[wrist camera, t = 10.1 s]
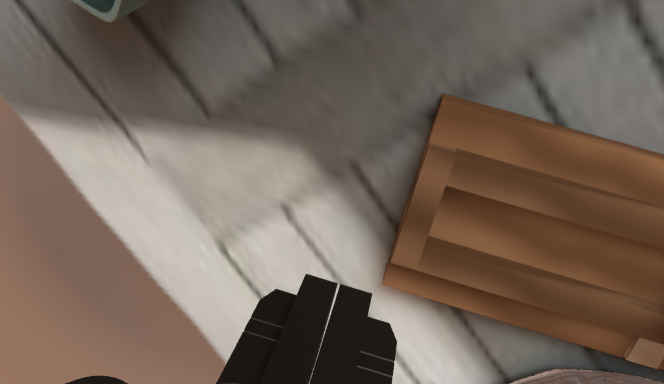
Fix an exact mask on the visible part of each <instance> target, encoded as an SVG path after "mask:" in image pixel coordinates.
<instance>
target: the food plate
mask: <svg viewBox="0 0 664 384" xmlns="http://www.w3.org/2000/svg"><path fill="white" fill-rule="evenodd" d="M611 372H612V371H611ZM510 384H664V383H661V382H660V381H655V380H650V379H649V378H648V379H647V378H644V377H642V376H637V375H628V374H620V373H616V372H612V373H610V372H605V371H603V372H602V371H599V370H596V371H593V370H590V371H589V370H584V369H581V370H578V371H577V370H575V369H573V370H572V369H571V370H570V369H554V370H549V371H547V372H546V371H545V372H541V373H538V374H535V376H528V377H527V378H526V379H525V378H522V380H517V381H515V382H513V383H510Z"/></svg>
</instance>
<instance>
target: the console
mask: <svg viewBox="0 0 664 384" xmlns="http://www.w3.org/2000/svg"><path fill="white" fill-rule="evenodd" d="M382 285H385V286H388V287H392V288H395V289H398V290H402V291H405V292H408V293H411V294H415V295H418V296H421V297H425V298H428V299H431V300H434V301H438V302H441V303H444V304H448V305H451V306H454V307H457V308H461V309H464V310H467V311H471V312H474V313H477V314H480V315H484V316H487V317H490V318H494V319H497V320H500V321H503V322H507V323H510V324H513V325H517V326H520V327H523V328H526V329H530V330H533V331H536V332H540V333H543V334H546V335H549V336H553V337H556V338H559V339H563V340H566V341H569V342H572V343H576V344H579V345H582V346H586V347H589V348H592V349H595V350H599V351H602V352H605V353H609V354H612V355H615V356H618V357H622V358H625V359H626V360H628V361H632V362H635V363H638V364H641V365H645V366H648V367H651V368H655V369H657V368H658V369H661V370H664V155H663V154H660V153H656V152H653V151H649V150H645V149H642V148H638V147H635V146H631V145H627V144H624V143H620V142H617V141H613V140H609V139H606V138H602V137H599V136H595V135H591V134H588V133H584V132H580V131H577V130H573V129H570V128H566V127H562V126H559V125H555V124H552V123H548V122H544V121H541V120H537V119H534V118H530V117H526V116H523V115H519V114H516V113H512V112H508V111H505V110H501V109H498V108H494V107H490V106H487V105H483V104H480V103H476V102H472V101H469V100H465V99H461V98H458V97H454V96H451V95H447V94H442V97H441V100H440V103H439V106H438V109H437V112H436V115H435V119H434V122H433V125H432V128H431V131H430V134H429V137H428V140H427V143H426V146H425V149H424V152H423V156H422V159H421V162H420V165H419V168H418V171H417V174H416V177H415V180H414V183H413V186H412V189H411V192H410V196H409V199H408V202H407V205H406V208H405V211H404V214H403V217H402V220H401V223H400V226H399V229H398V233H397V236H396V239H395V242H394V245H393V248H392V251H391V254H390V257H389V260H388V263H387V266H386V269H385V273H384V278H383V283H382Z"/></svg>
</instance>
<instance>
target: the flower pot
mask: <svg viewBox="0 0 664 384" xmlns="http://www.w3.org/2000/svg"><path fill="white" fill-rule="evenodd" d="M70 1H72V2H73V3H75V4H77V5H78V6H80V7H82V8H83V9H85V10H86V11H88V12H89V13H91V14H93V15H94V16H96V17H97V18H99V19H101V20H103V21H105V22H108V23H111V22H113V21H115V20H117V19H119V18H121V17H123V16H125V15H127V14H129V13H131V12H133V11H135V10H137V9H139V8H140V7H142V6H144V5H145V4H147V3H148V2H149V1H150V0H70Z"/></svg>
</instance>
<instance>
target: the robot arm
mask: <svg viewBox="0 0 664 384" xmlns="http://www.w3.org/2000/svg"><path fill="white" fill-rule="evenodd" d="M337 284H338V283H335V282H331V281H328V280H325V279H322V278H318V277H315V276H312V275H308V274H306V275H305V277H304V280H303V282H302V284H301V287H300V289H299V291H298V294H297V295H294V294H291V293H288V292H284V291H281V290H278V289H275V290H274V291H272V292H271V293H269V294H268V295H266V296H265V297H263V298H262V299H260V301H259V302H258V304H257V306H256V308H255V310H254V312H253V314H252V316H251V319H250V320H249V322H248V324H247V325H246V327H245V330H244V332H243V333H242V335H241V337H240V339H239V341H238V343H237V345H236V347H235V349H234V350H233V352H232V354H231V356H230V358H229V360H228V362H227V364H226V366H225V368H224V370H223V372H222V373H221V375H220V377H219V379H218V381H217V383H216V384H392V376H393V370H394V361H395V354H396V346H397V341H396V338H395V336H394V333H393V331H392V328H391V326H390V323H387V322H383V321H380V320H377V319H373V318H370V317H367V316H368V311H369V307H370V302H371V297H372V293H368V292H365V291H362V290H358V289H355V288H352V287H348V286H345V285H342V284H340V287H339V290H338V294H337V297H336V300H335V303H334V306H333V310H332V313H331V316H330V319H329V322H328V326H327V329H326V332H325V335H324V338H323V334H324V331H325V327H326V324H327V320H328V317H329V313H330V309H331V306H332V302H333V299H334V295H335V292H336V288H337ZM322 338H323V342H322ZM321 342H322V345H321ZM320 345H321V348H320ZM319 348H320V351H319ZM318 352H319V355H318ZM317 355H318V358H317ZM316 359H317V361H316ZM315 362H316V364H315ZM314 365H315V367H314ZM313 368H314V371H313ZM312 371H313V374H312ZM311 375H312V377H311ZM310 378H311V380H310ZM309 381H310V383H309ZM66 384H128V383H126V382H124V381H122V380H120V379H117V378H113V377H108V376H90V377H85V378H81V379H77V380H74V381H72V382H69V383H66Z"/></svg>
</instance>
